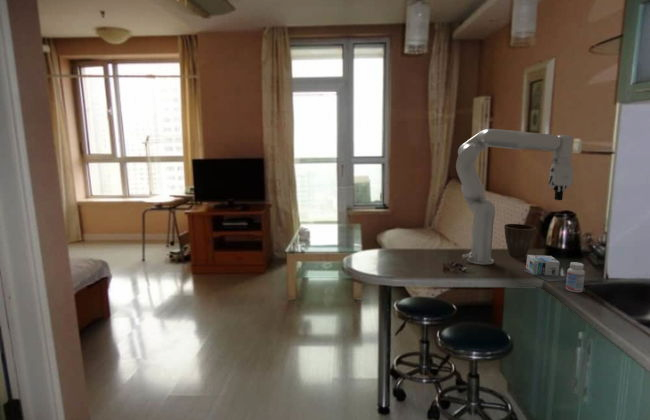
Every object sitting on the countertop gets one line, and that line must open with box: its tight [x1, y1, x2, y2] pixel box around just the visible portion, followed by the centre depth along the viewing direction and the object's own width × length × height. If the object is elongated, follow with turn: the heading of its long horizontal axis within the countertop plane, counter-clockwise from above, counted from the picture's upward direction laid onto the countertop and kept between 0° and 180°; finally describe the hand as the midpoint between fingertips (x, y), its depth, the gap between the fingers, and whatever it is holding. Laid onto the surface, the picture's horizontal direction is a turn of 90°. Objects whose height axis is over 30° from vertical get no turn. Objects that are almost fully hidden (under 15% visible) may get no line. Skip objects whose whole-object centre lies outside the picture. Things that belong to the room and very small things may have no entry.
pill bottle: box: [565, 261, 586, 293], centre depth 166 cm, size 6×6×11 cm
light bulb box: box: [525, 254, 560, 276], centre depth 189 cm, size 11×7×11 cm
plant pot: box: [503, 223, 537, 259], centre depth 216 cm, size 15×15×16 cm
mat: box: [522, 269, 567, 283], centre depth 186 cm, size 11×16×1 cm
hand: (558, 199), depth 198 cm, fingers closed
